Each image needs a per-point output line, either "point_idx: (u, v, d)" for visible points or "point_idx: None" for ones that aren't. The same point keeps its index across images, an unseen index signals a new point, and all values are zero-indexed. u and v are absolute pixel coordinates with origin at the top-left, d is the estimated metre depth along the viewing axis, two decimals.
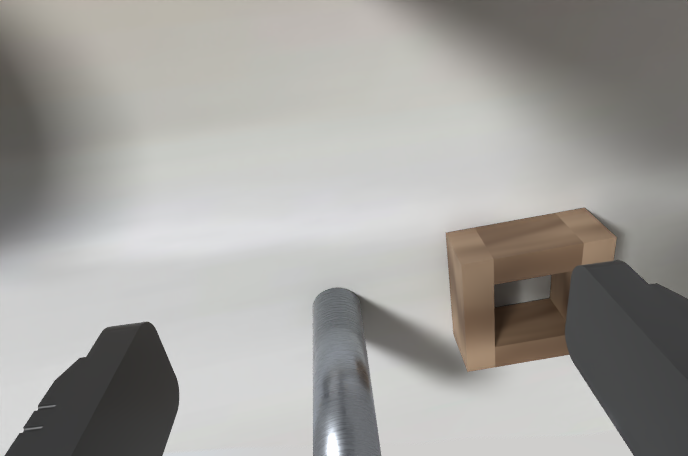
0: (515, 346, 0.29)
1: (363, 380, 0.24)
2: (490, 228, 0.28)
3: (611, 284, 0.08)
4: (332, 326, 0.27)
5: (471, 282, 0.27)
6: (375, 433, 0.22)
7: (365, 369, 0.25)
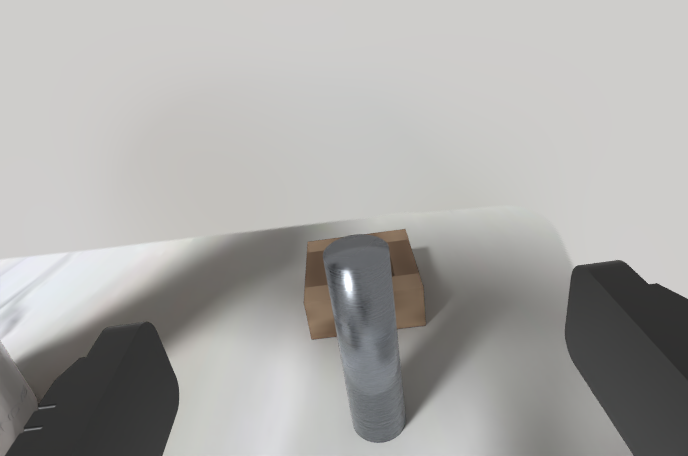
0: (396, 266, 0.36)
1: None
2: None
3: (611, 284, 0.08)
4: (345, 381, 0.26)
5: (322, 296, 0.34)
6: None
7: None
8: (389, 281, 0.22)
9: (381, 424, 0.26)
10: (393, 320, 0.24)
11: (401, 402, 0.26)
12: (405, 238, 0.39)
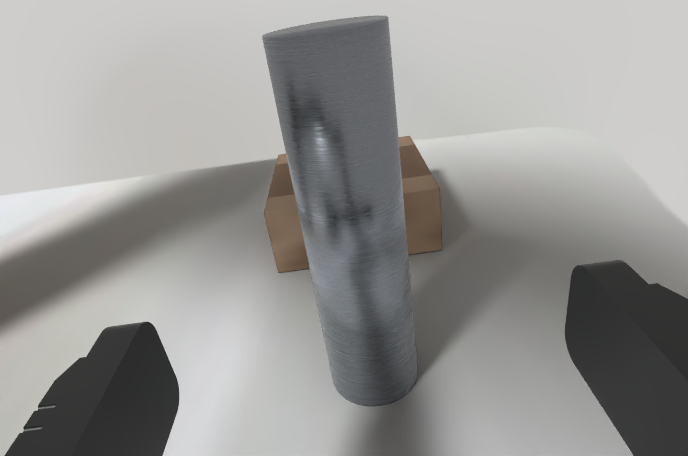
0: None
1: None
2: None
3: (611, 284, 0.08)
4: None
5: (290, 205, 0.23)
6: None
7: None
8: (389, 82, 0.12)
9: (378, 373, 0.15)
10: (397, 172, 0.13)
11: (411, 337, 0.16)
12: (410, 143, 0.29)
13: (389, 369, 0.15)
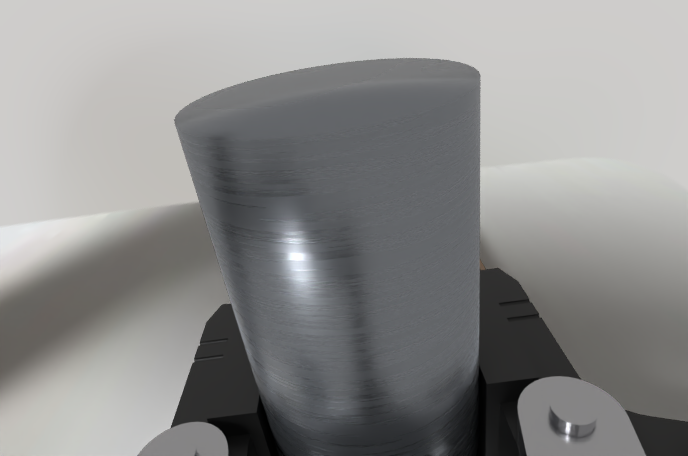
0: None
1: None
2: None
3: None
4: None
5: None
6: None
7: None
8: (476, 222, 0.05)
9: None
10: (476, 383, 0.06)
11: None
12: None
13: None
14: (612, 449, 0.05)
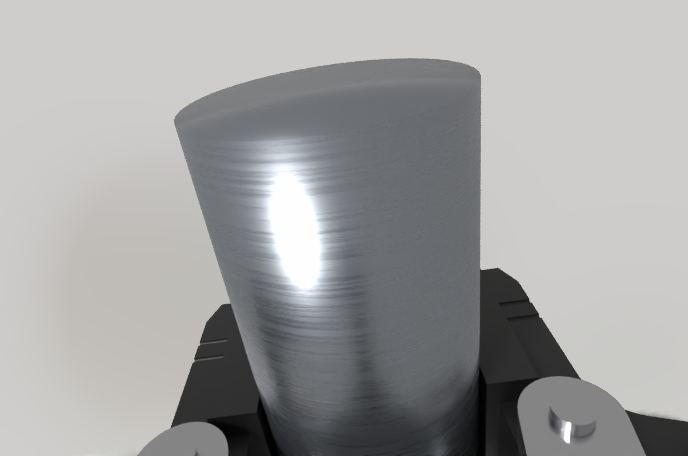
0: None
1: None
2: None
3: None
4: None
5: None
6: None
7: None
8: (477, 223, 0.05)
9: None
10: (476, 384, 0.06)
11: None
12: None
13: None
14: (612, 449, 0.05)
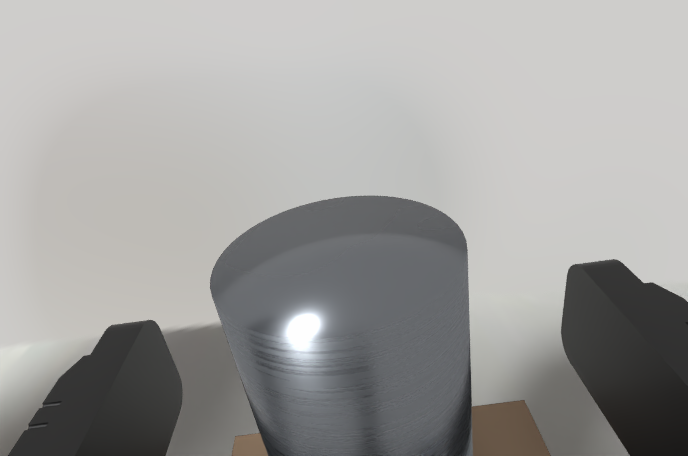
0: None
1: None
2: None
3: (606, 283, 0.08)
4: None
5: None
6: None
7: None
8: (466, 363, 0.06)
9: None
10: None
11: None
12: (538, 449, 0.12)
13: None
14: None
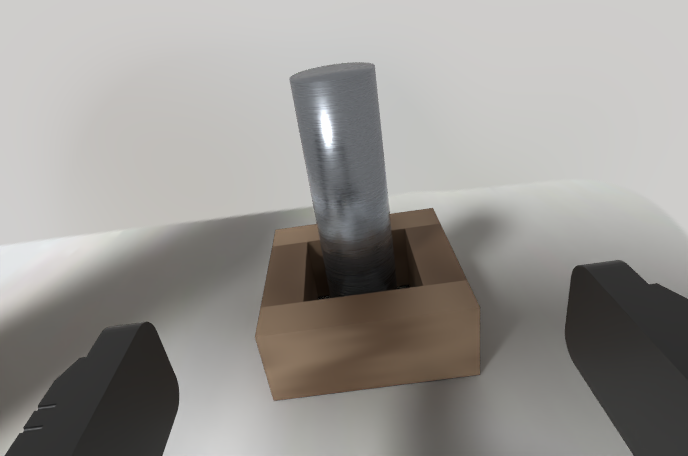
0: (423, 267, 0.20)
1: None
2: None
3: (611, 284, 0.08)
4: None
5: (289, 323, 0.18)
6: None
7: None
8: (375, 110, 0.17)
9: None
10: (382, 171, 0.18)
11: None
12: (435, 222, 0.24)
13: None
14: None
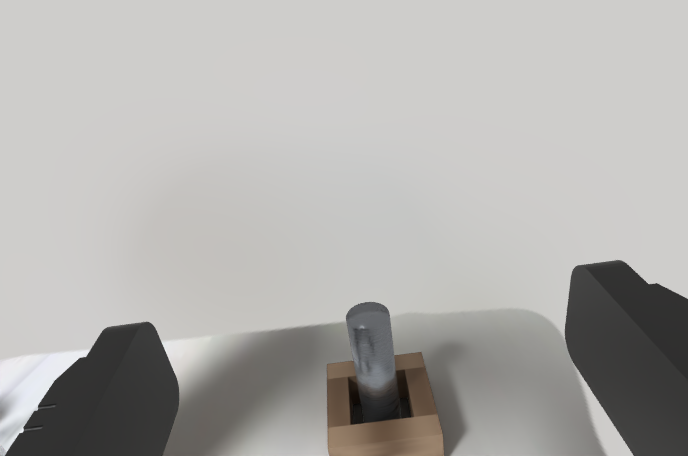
0: (414, 402, 0.37)
1: None
2: None
3: (611, 284, 0.08)
4: (360, 399, 0.38)
5: (344, 440, 0.35)
6: None
7: None
8: (389, 335, 0.34)
9: None
10: (392, 359, 0.35)
11: (398, 413, 0.38)
12: (422, 365, 0.41)
13: None
14: None
